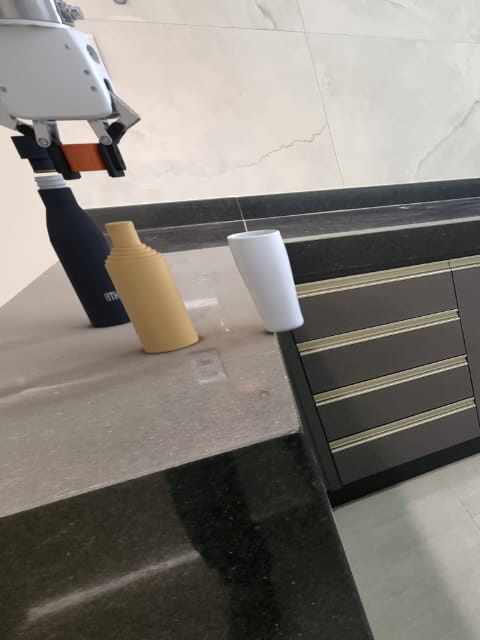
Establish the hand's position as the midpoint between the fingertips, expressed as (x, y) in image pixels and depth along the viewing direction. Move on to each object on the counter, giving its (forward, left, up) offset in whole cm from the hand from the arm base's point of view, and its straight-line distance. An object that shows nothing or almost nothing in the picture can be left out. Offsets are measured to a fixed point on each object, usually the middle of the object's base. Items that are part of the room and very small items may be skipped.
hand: (95, 176), depth 70 cm
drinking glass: (+12, +9, -24) cm, 29 cm away
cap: (0, 0, +1) cm, 1 cm away
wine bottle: (-24, +7, -24) cm, 35 cm away
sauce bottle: (0, 0, -24) cm, 24 cm away
